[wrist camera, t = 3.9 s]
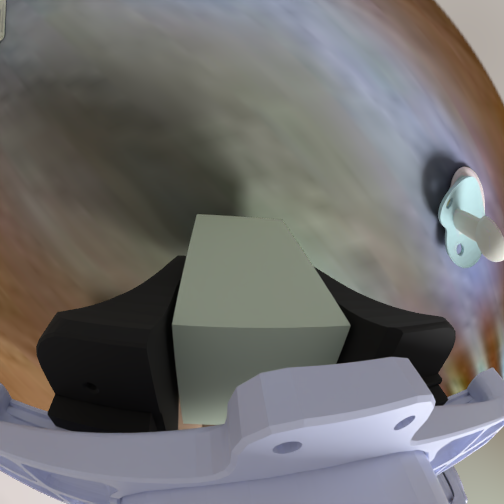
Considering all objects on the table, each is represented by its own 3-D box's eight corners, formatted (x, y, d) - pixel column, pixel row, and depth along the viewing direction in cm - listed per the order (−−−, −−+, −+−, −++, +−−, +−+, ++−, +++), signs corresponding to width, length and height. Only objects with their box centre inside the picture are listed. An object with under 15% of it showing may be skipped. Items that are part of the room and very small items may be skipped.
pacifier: (466, 149, 15) (419, 189, 16) (531, 166, 10) (489, 217, 10) (483, 224, 18) (442, 265, 19) (534, 253, 13) (494, 304, 13)
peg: (282, 219, 13) (350, 325, 6) (271, 291, 15) (311, 419, 8) (196, 214, 13) (172, 324, 6) (195, 289, 14) (183, 423, 7)
